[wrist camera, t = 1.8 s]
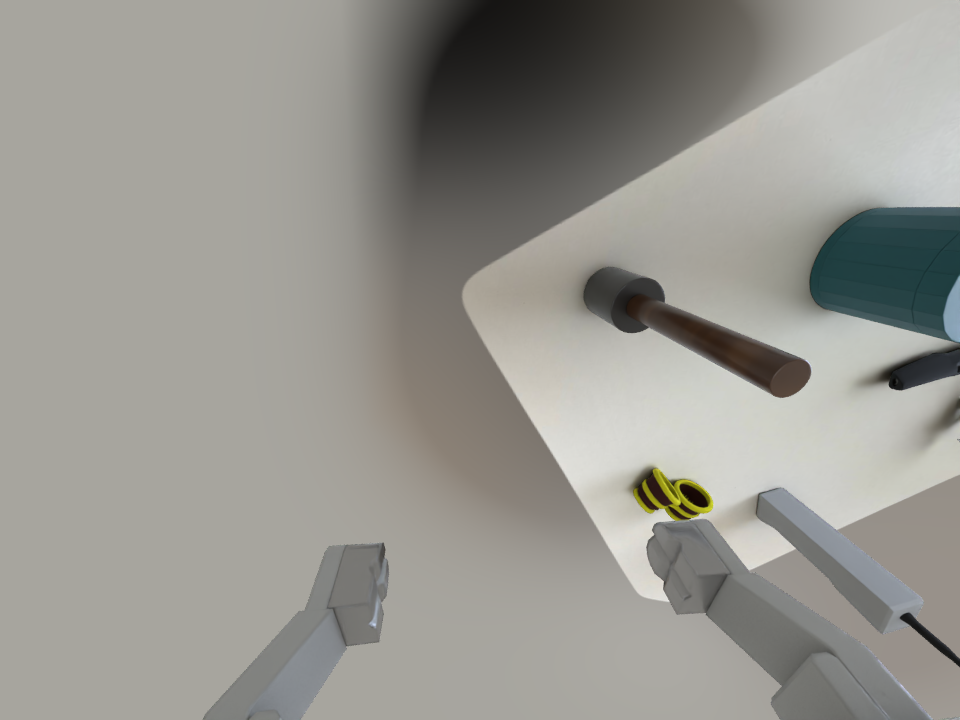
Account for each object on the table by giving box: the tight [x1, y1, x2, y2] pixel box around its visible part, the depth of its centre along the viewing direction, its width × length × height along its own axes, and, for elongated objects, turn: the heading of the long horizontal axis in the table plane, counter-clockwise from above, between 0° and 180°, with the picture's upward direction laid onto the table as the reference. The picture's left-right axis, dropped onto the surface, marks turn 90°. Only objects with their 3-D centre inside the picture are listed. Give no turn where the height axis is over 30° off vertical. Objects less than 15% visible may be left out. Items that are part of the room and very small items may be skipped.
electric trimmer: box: [889, 349, 960, 390], centre depth 44 cm, size 4×16×3 cm, turn 106°
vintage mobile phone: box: [757, 488, 960, 667], centre depth 41 cm, size 4×5×25 cm
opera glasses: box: [633, 468, 713, 521], centre depth 46 cm, size 10×5×5 cm, turn 64°
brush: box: [584, 267, 812, 398], centre depth 26 cm, size 5×5×20 cm
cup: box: [810, 207, 960, 343], centre depth 33 cm, size 11×11×11 cm
